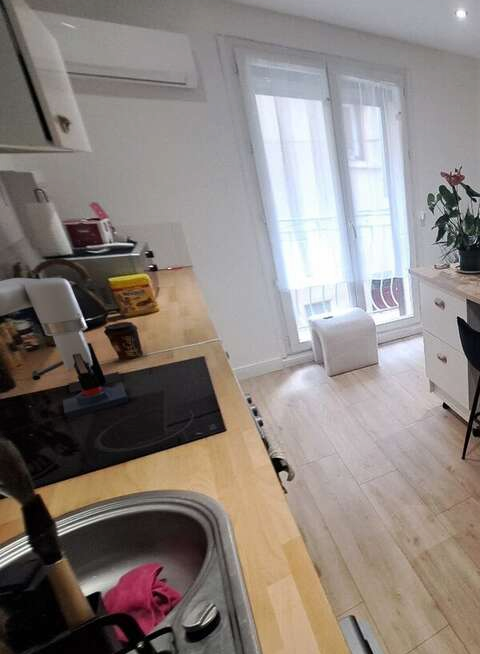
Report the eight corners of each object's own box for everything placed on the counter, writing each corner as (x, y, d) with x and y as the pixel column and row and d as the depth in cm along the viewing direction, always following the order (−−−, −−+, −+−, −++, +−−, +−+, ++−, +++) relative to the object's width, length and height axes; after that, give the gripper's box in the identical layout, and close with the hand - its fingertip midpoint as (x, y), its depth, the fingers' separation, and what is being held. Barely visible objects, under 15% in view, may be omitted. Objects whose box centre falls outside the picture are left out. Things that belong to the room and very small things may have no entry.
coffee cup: (109, 362, 142) (95, 326, 137) (138, 353, 149) (126, 319, 144) (124, 366, 139) (110, 330, 134) (153, 357, 146) (141, 322, 141)
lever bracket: (71, 396, 119) (54, 356, 115) (69, 386, 125) (52, 348, 120) (123, 383, 127) (108, 345, 122) (119, 375, 132) (105, 338, 128)
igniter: (67, 420, 107) (61, 406, 106) (65, 407, 113) (59, 394, 112) (129, 402, 116) (124, 390, 114) (124, 391, 122) (119, 379, 121)
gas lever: (37, 382, 115) (29, 376, 113) (36, 377, 118) (29, 371, 116) (93, 354, 122) (86, 348, 120) (91, 350, 125) (84, 344, 123)
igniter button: (84, 398, 111) (82, 392, 110) (83, 394, 113) (81, 388, 113) (103, 393, 114) (100, 388, 113) (101, 389, 116) (99, 384, 115)
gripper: (42, 323, 108) (70, 384, 115) (43, 336, 99) (73, 402, 106) (83, 316, 114) (107, 375, 120) (87, 328, 104) (113, 391, 111)
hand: (91, 388), depth 113 cm, fingers closed
